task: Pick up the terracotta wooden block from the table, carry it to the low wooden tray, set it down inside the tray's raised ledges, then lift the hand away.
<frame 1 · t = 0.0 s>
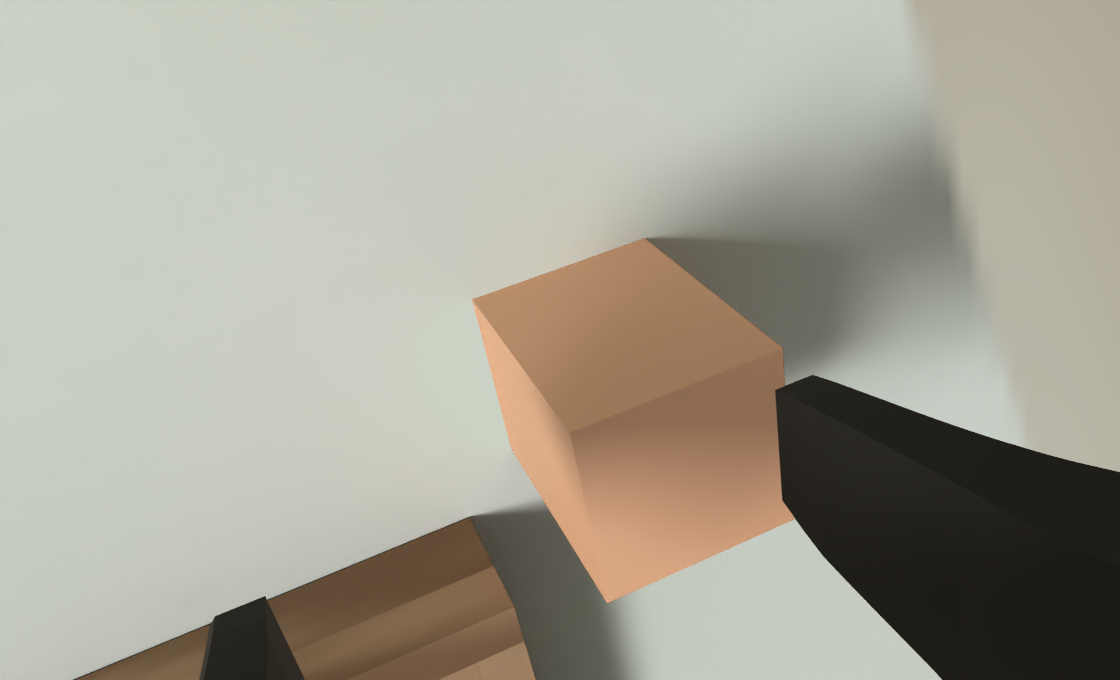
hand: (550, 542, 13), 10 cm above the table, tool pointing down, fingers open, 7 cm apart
terracotta block: (575, 345, 24), on the table
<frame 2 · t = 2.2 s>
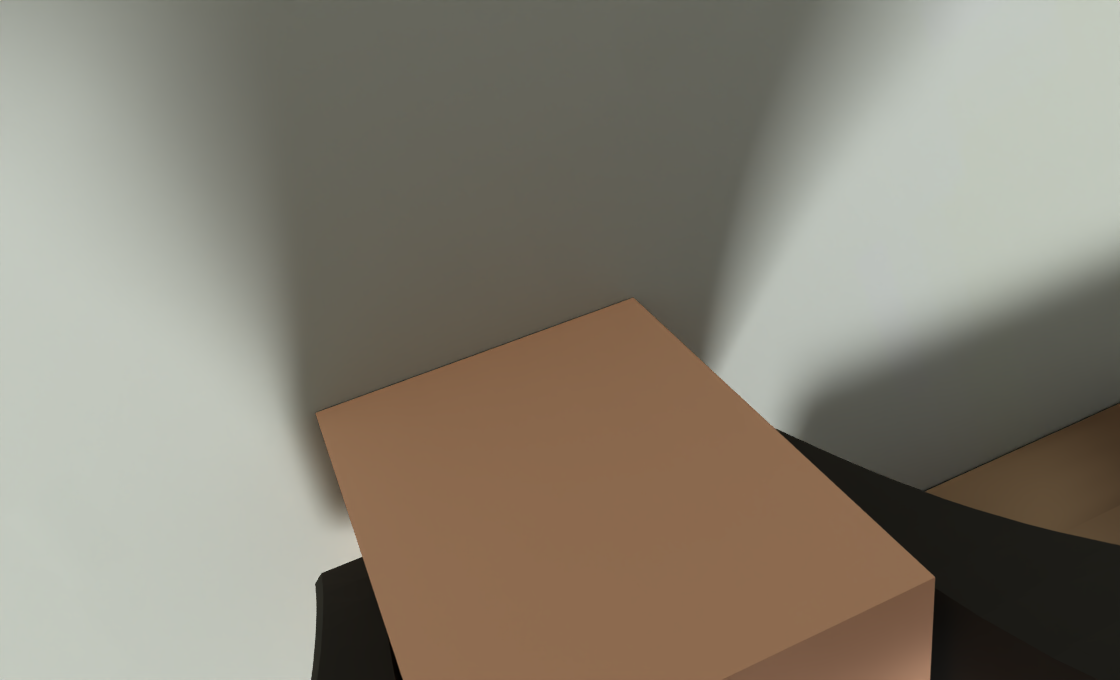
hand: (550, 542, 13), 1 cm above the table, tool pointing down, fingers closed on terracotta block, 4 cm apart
terracotta block: (514, 481, 14), on the table, touching gripper
wooden tray: (1015, 654, 21), on the table
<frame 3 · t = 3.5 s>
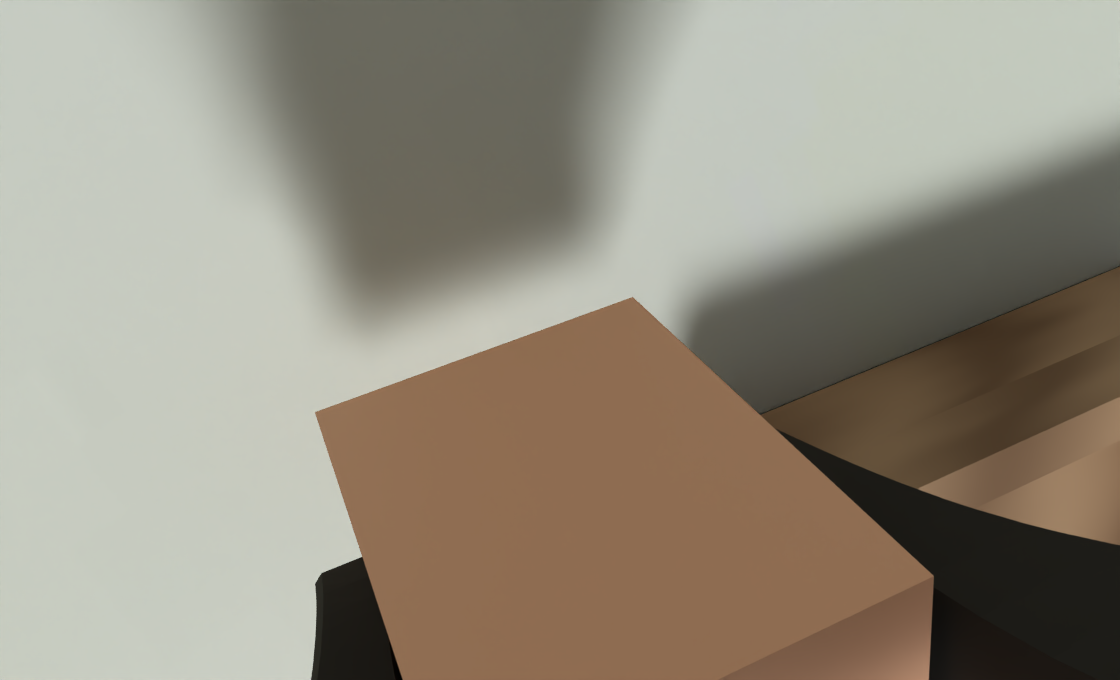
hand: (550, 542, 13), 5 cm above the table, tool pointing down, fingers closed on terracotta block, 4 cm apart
terracotta block: (513, 481, 14), point 4 cm above the table, touching gripper
wooden tray: (904, 554, 24), on the table
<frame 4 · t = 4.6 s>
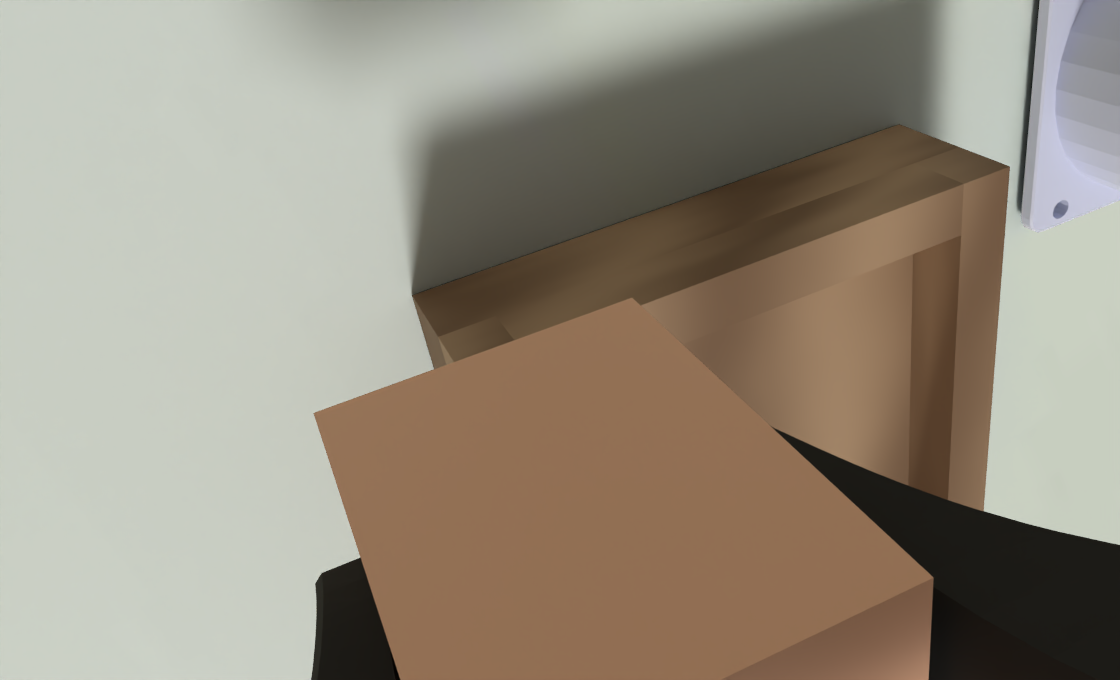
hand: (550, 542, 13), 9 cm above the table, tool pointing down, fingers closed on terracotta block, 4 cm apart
terracotta block: (512, 481, 14), point 7 cm above the table, touching gripper
wooden tray: (699, 420, 25), on the table
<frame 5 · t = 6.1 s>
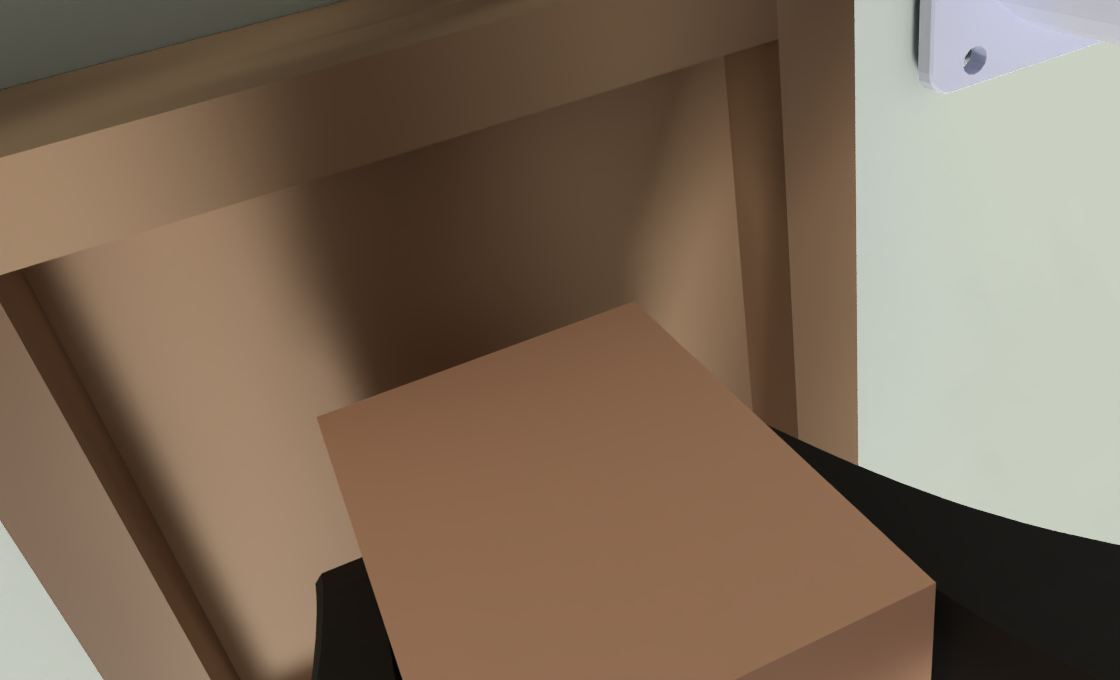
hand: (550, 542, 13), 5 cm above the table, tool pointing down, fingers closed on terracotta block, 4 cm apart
terracotta block: (514, 485, 14), point 4 cm above the table, touching gripper
wooden tray: (441, 356, 17), on the table
when the fingers open (5 cm above the table, at t = 7.1 s): terracotta block drops 1 cm, resting on wooden tray.
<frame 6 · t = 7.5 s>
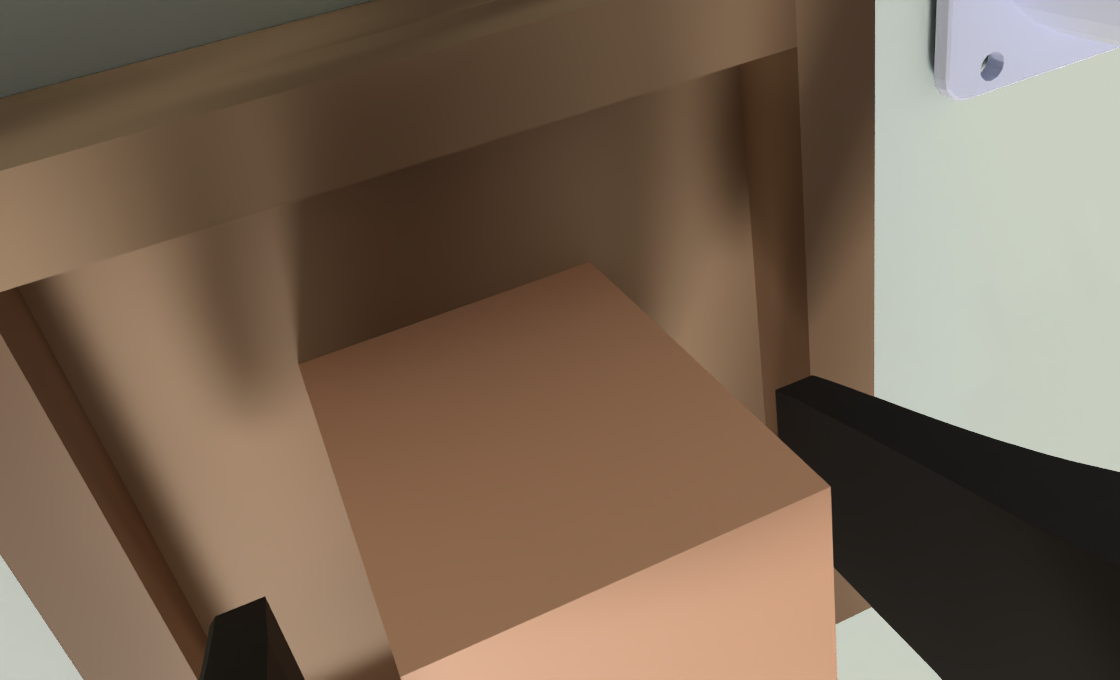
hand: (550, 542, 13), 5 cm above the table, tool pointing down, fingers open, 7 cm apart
terracotta block: (483, 432, 15), point 2 cm above the table, touching wooden tray
wooden tray: (447, 369, 17), on the table
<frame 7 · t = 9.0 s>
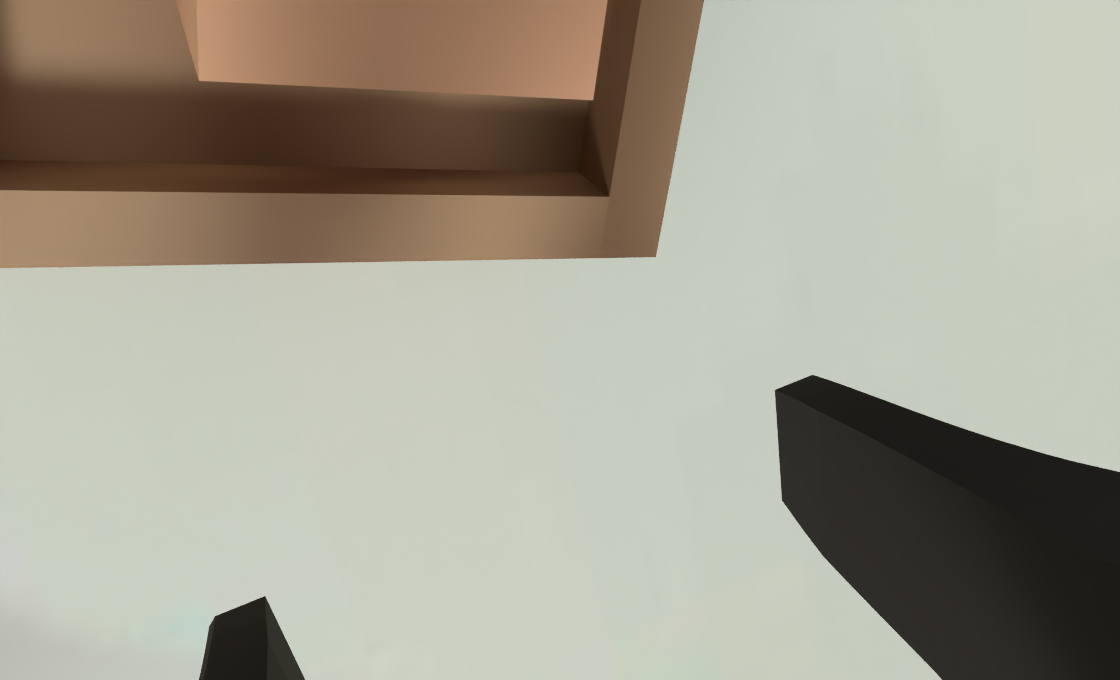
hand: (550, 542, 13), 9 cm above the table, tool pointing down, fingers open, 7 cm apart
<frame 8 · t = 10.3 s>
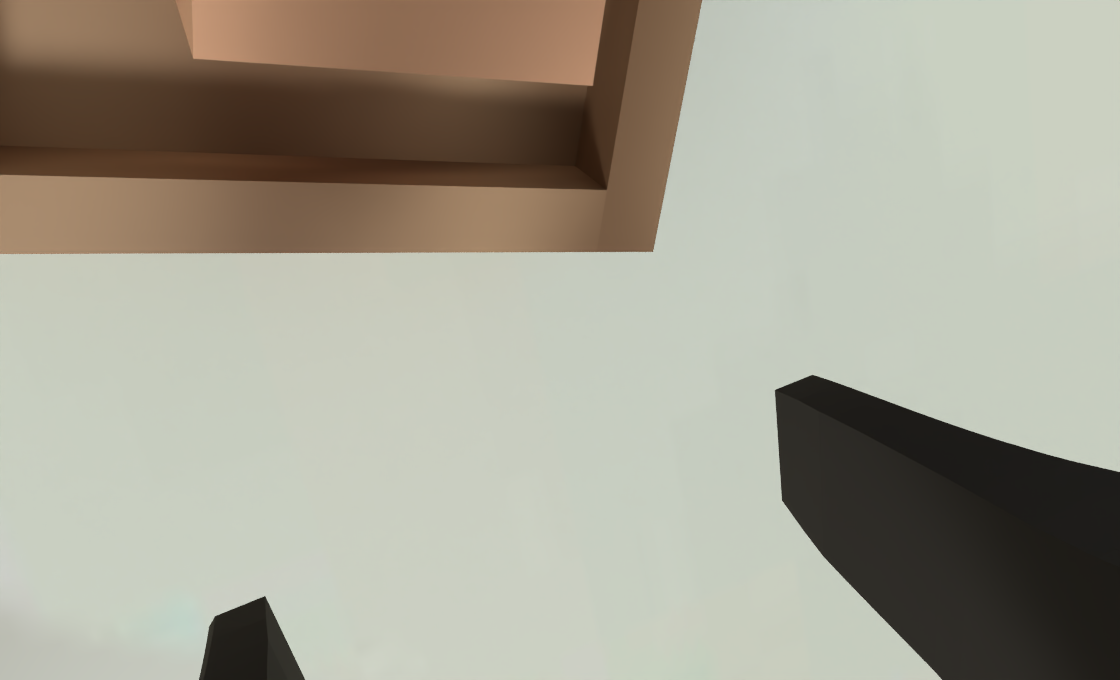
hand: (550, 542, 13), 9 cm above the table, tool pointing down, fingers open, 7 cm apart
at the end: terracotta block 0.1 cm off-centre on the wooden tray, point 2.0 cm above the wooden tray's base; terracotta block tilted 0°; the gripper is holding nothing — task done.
